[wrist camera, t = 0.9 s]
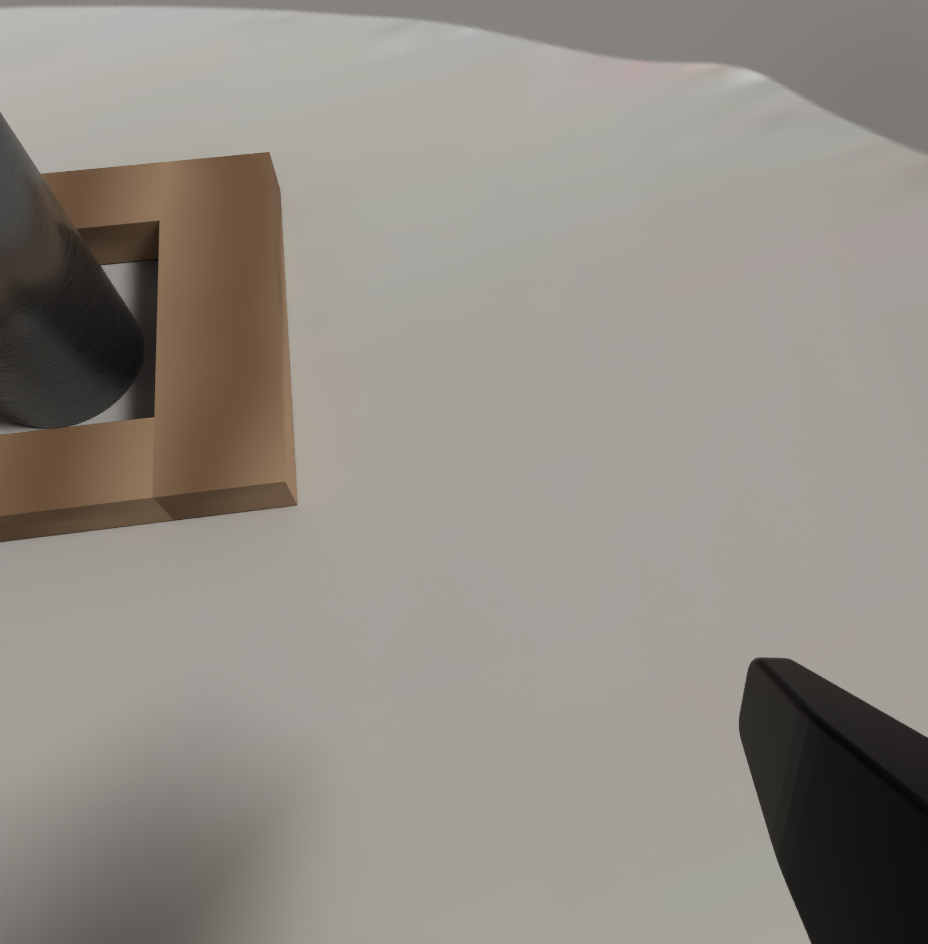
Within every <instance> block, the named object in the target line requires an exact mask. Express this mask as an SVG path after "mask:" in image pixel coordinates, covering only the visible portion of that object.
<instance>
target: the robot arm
mask: <svg viewBox="0 0 928 944" xmlns="http://www.w3.org/2000/svg"><path fill="white" fill-rule="evenodd" d="M739 732H740V738H741V741H742V745H743V748H744V752H745V755H746V758H747V762H748V765H749V769H750V772H751V775H752V779H753V782H754V785H755V789H756V792H757V796H758V799H759V802H760V806H761V809H762V812H763V816H764V819H765V823H766V826H767V829H768V833H769V836H770V840H771V843H772V846H773V849H774V852H775V855H776V858H777V861H778V864H779V866H780V869H781V871H782V874H783V876H784V879H785V882H786V884H787V886H788V889H789V891H790V894H791V896H792V898H793V901H794V903H795V906H796V908H797V910H798V913H799V915H800V918H801V920H802V922H803V925H804V927H805V929H806V932H807V934H808V937H809V939H810V941H811V944H928V738H927V737H926V736H924V735H922V734H920V733H919V732H917V731H915V730H913V729H912V728H910V727H908V726H906V725H905V724H903V723H901V722H899V721H898V720H896V719H894V718H892V717H891V716H889V715H887V714H885V713H884V712H882V711H880V710H878V709H877V708H875V707H873V706H871V705H870V704H868V703H866V702H864V701H863V700H861V699H859V698H858V697H856V696H854V695H852V694H851V693H849V692H847V691H845V690H844V689H842V688H840V687H838V686H837V685H835V684H833V683H831V682H830V681H828V680H826V679H824V678H823V677H821V676H819V675H817V674H816V673H814V672H812V671H810V670H809V669H807V668H805V667H803V666H802V665H800V664H798V663H796V662H795V661H793V660H791V659H787V658H755V659H754V660H753V661H752V662H751V663H750V666H749V668H748V672H747V677H746V683H745V688H744V693H743V699H742V704H741V710H740V715H739Z"/></svg>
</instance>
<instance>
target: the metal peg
mask: <svg viewBox="0 0 928 944" xmlns="http://www.w3.org/2000/svg"><path fill="white" fill-rule="evenodd" d="M143 352H144V343H143V336H142V332H141V329H140V327H139V324H138V323H137V321H136V320H135V318H134V316H133V315H132V313H131V312H130V310H129V309H128V307H127V306H126V304H125V303H124V301H123V299H122V298H121V296H120V295H119V293H118V292H117V290H116V289H115V287H114V286H113V284H112V283H111V281H110V280H109V278H108V276H107V275H106V273H105V272H104V270H103V269H102V267H101V266H100V264H99V263H98V261H97V260H96V258H95V257H94V255H93V253H92V252H91V250H90V249H89V247H88V246H87V244H86V243H85V241H84V240H83V238H82V237H81V235H80V234H79V232H78V230H77V229H76V227H75V226H74V224H73V223H72V221H71V220H70V218H69V217H68V215H67V214H66V212H65V211H64V209H63V207H62V206H61V204H60V203H59V201H58V200H57V198H56V197H55V195H54V194H53V192H52V191H51V189H50V187H49V186H48V184H47V183H46V181H45V180H44V178H43V177H42V175H41V174H40V172H39V171H38V169H37V168H36V166H35V164H34V163H33V161H32V160H31V158H30V157H29V155H28V154H27V152H26V151H25V149H24V148H23V146H22V145H21V143H20V141H19V140H18V138H17V137H16V135H15V134H14V132H13V131H12V129H11V128H10V126H9V125H8V123H7V122H6V120H5V118H4V117H3V115H2V114H1V112H0V414H1V415H3V416H4V417H6V418H7V419H9V420H11V421H13V422H15V423H18V424H21V425H24V426H28V427H33V428H44V429H49V428H60V427H66V426H71V425H74V424H78V423H81V422H83V421H86V420H88V419H91V418H93V417H94V416H96V415H98V414H100V413H102V412H103V411H105V410H106V409H108V408H109V407H110V406H112V405H113V404H114V403H115V402H116V401H118V400H119V399H120V398H121V397H122V395H123V394H124V393H125V392H126V391H127V390H128V388H129V387H130V386H131V384H132V383H133V381H134V379H135V378H136V376H137V374H138V371H139V369H140V367H141V363H142V359H143Z"/></svg>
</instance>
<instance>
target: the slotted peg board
mask: <svg viewBox="0 0 928 944" xmlns="http://www.w3.org/2000/svg"><path fill="white" fill-rule="evenodd" d="M41 175H42V177H43V178H44V180H45V181H46V183H47V184H48V186H49V187H50V189H51V191H52V192H53V194H54V195H55V197H56V198H57V200H58V201H59V203H60V204H61V206H62V207H63V209H64V211H65V212H66V214H67V215H68V217H69V218H70V220H71V221H72V223H73V224H74V226H75V227H76V229H77V230H78V232H79V234H80V235H81V237H82V238H83V240H84V241H85V243H86V244H87V246H88V247H89V249H90V250H91V252H92V253H93V255H94V257H95V258H96V260H97V261H98V263H99V264H100V265H101V264H111V263H120V262H130V261H140V260H150V259H159V261H158V299H157V337H156V375H155V413H154V417H151V418H142V419H134V420H125V421H116V422H107V423H99V424H90V425H81V426H73V427H64V428H55V429H47V430H38V431H29V432H21V433H12V434H3V435H0V542H1V541H9V540H17V539H25V538H33V537H41V536H49V535H58V534H66V533H74V532H82V531H90V530H98V529H106V528H114V527H122V526H131V525H139V524H147V523H155V522H163V521H171V520H179V519H187V518H195V517H204V516H212V515H220V514H228V513H236V512H244V511H252V510H260V509H268V508H277V507H285V506H293V505H297V489H296V470H295V452H294V433H293V415H292V396H291V378H290V360H289V341H288V323H287V304H286V286H285V268H284V249H283V231H282V212H281V194H280V188H279V184H278V181H277V177H276V174H275V170H274V167H273V163H272V160H271V156H270V153H269V152H266V153H255V154H245V155H234V156H224V157H213V158H203V159H192V160H182V161H171V162H161V163H150V164H140V165H129V166H119V167H108V168H98V169H87V170H77V171H66V172H56V173H45V174H41Z"/></svg>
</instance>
